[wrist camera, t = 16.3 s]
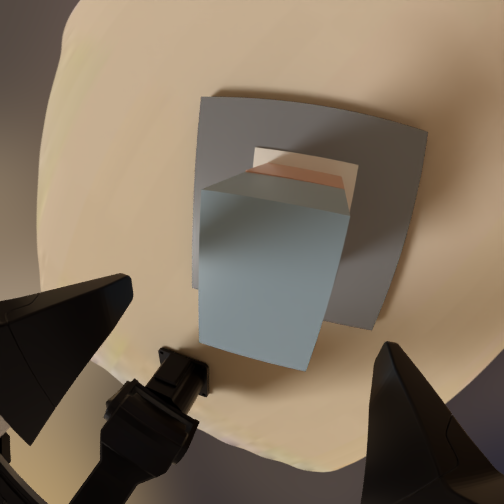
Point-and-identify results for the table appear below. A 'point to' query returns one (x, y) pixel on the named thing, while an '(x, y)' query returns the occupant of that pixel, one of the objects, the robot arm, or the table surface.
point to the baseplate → (327, 161)
